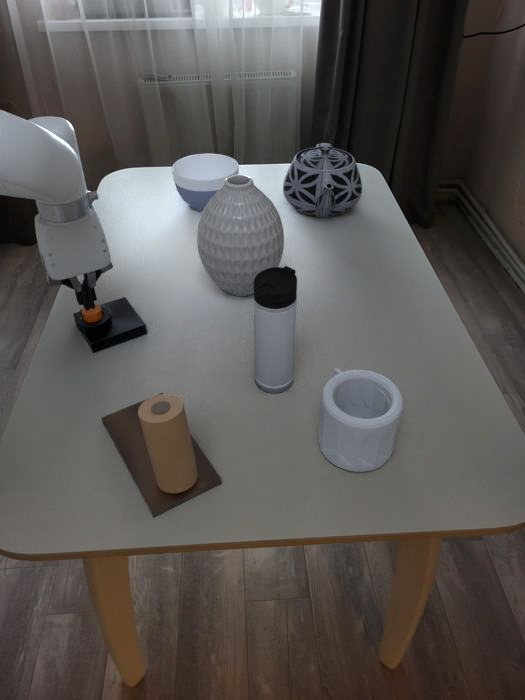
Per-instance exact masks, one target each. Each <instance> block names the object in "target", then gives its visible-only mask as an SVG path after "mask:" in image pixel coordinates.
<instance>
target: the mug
mask: <svg viewBox="0 0 525 700" xmlns="http://www.w3.org/2000/svg"><path fill="white" fill-rule="evenodd" d="M403 408H404V399H403V395H402V393H401V391H400V389H399V388H398V387H397V385H396V384H395V382H393V381H392V380H390V379H389V378H388V377H386V376H384V375H382V374H380V373H378V372H375V371H371V370H366V369H350V370H347V371H346V370H345V371H342V370H341V369H340V368H338V367H334V368H333V370H332V377H331V378H330V379H329V380H328V381H327V382H326V383H325V385H324V387H323V389H322V392H321V402H320V411H319V412H320V413H319V422H318V437H317V441H318V446H319V450H320V451H321V453H322V455H323V456H324V457H325V459H326V460H328V461H329V462H330V463H332V464H333V466H334V465H335V466H336V467H338V468H340V469H342V470H346V471H349V472H357V473H363V472H371V471H374V470H376V469H379V468H380V467H382V466H383V465H385V464H386V463H387V462H388V461H389V460H390V458H391V455H392V453H393V450H394V447H395V441H396V436H397V432H398V428H399V423H400V419H401V417H402V412H403Z"/></svg>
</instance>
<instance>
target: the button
mask: <svg viewBox="0 0 525 700" xmlns="http://www.w3.org/2000/svg"><path fill="white" fill-rule="evenodd" d="M99 305H100V304H96V303H95V307H96V308H94V309H92V308H90V309H89V310H88V311H86V309H85V308H84V307H82V308H81V309H82V315H83V318H84V321H85V322H96V321H99V320H100V319H101V318H102V312H101V308H100V306H99Z"/></svg>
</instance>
